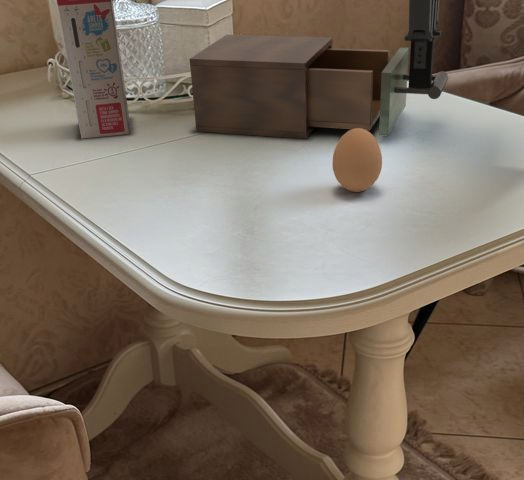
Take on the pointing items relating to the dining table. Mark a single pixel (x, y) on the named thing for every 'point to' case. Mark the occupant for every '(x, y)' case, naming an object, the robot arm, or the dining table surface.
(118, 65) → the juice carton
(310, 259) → the dining table surface
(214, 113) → the cabinet
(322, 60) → the drawer
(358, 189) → the egg
